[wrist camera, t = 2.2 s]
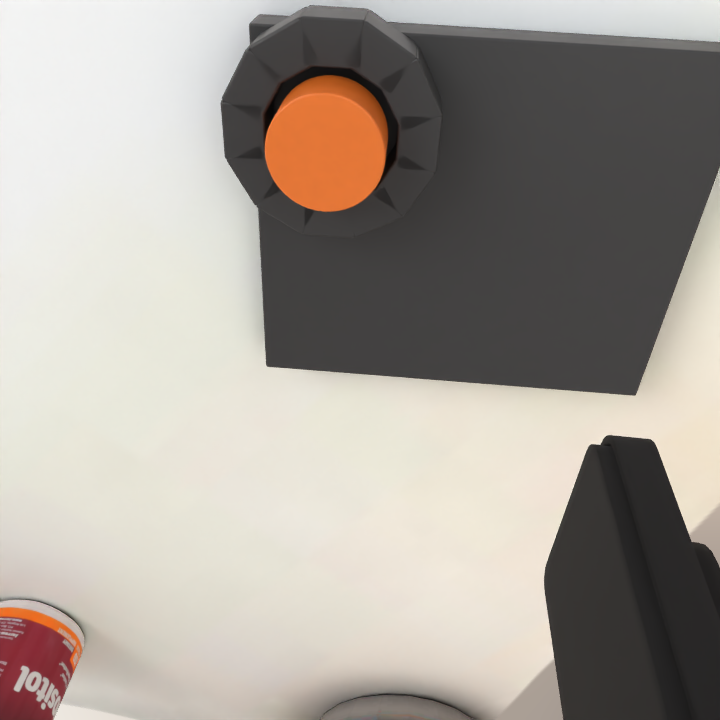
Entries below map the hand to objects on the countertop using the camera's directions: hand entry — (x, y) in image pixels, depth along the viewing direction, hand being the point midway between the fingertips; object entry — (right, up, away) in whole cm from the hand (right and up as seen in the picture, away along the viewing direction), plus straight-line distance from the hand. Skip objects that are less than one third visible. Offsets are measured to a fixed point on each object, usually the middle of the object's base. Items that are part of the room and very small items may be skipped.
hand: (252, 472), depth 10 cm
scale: (+5, +6, +14) cm, 16 cm away
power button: (+1, +8, +10) cm, 12 cm away
